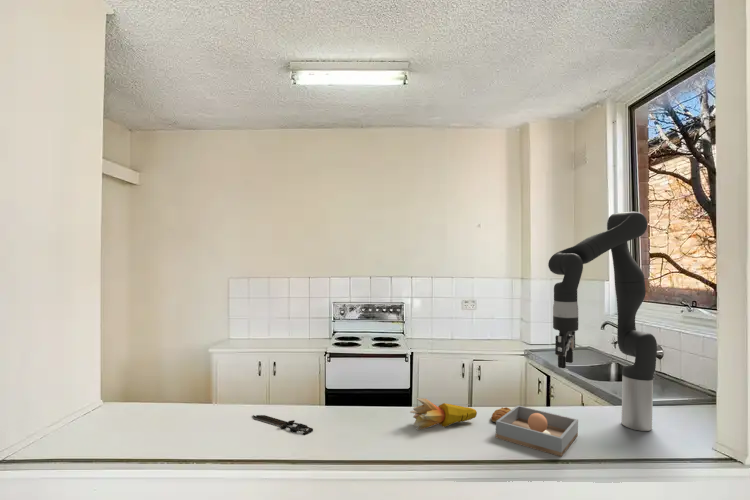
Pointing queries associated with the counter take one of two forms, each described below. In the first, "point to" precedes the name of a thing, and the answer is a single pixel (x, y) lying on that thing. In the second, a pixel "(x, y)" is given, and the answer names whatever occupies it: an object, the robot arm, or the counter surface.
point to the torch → (440, 414)
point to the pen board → (549, 430)
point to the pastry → (499, 413)
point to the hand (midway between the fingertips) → (565, 365)
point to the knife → (283, 424)
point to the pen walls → (535, 437)
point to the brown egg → (537, 422)
